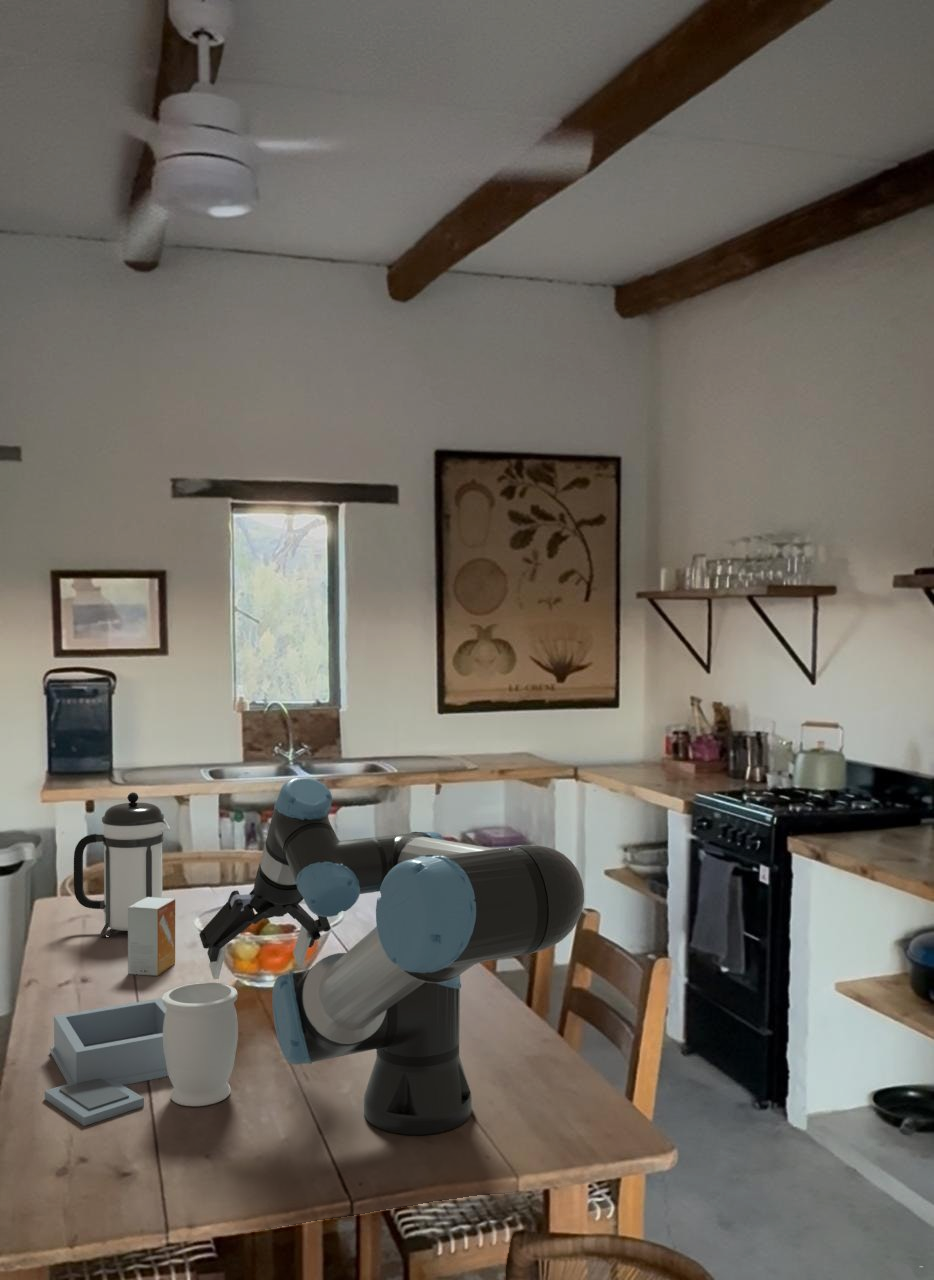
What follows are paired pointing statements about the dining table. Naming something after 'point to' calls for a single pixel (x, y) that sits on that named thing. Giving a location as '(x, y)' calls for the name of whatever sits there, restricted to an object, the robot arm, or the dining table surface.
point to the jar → (200, 1041)
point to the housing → (111, 1043)
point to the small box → (151, 936)
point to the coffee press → (125, 860)
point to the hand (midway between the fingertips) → (256, 965)
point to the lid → (94, 1100)
